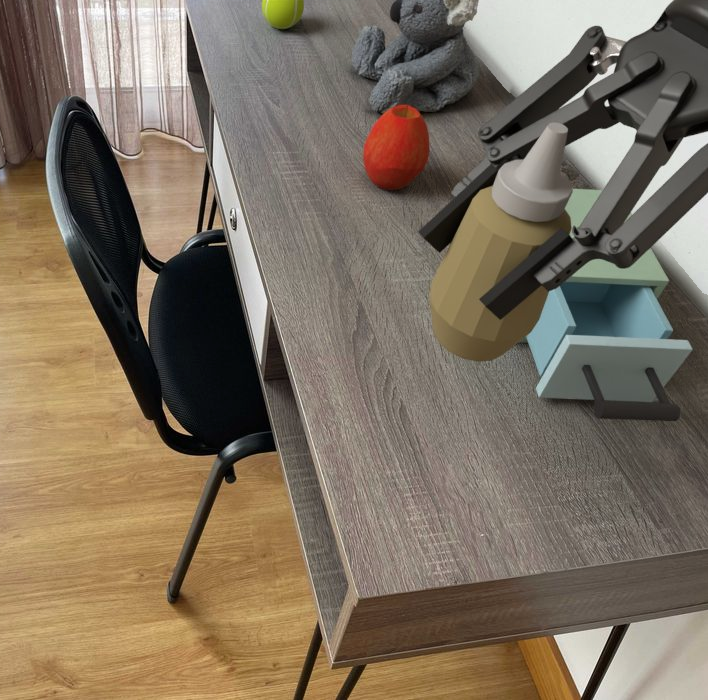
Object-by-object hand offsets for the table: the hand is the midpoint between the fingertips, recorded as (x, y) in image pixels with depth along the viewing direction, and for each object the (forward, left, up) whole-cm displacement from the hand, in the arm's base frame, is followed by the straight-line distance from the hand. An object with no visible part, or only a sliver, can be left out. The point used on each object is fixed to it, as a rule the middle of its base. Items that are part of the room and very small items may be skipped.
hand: (458, 274), depth 50 cm
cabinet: (+17, -26, -23) cm, 38 cm away
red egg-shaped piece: (+41, -16, -23) cm, 49 cm away
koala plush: (+63, -29, -23) cm, 73 cm away
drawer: (+5, -23, -22) cm, 32 cm away
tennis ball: (+86, -14, -23) cm, 90 cm away
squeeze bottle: (+1, -3, -8) cm, 8 cm away
